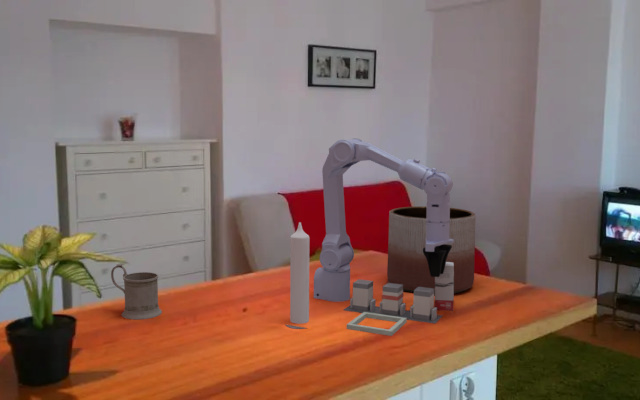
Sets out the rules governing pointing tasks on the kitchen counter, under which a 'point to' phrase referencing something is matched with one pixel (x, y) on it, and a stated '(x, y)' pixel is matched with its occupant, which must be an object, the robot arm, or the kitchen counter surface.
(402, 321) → the grey square frame
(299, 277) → the candle
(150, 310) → the mug
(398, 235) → the planter
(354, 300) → the block
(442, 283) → the ink box
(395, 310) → the red banded fuse
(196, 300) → the kitchen counter surface
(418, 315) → the fuse right
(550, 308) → the kitchen counter surface
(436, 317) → the board
